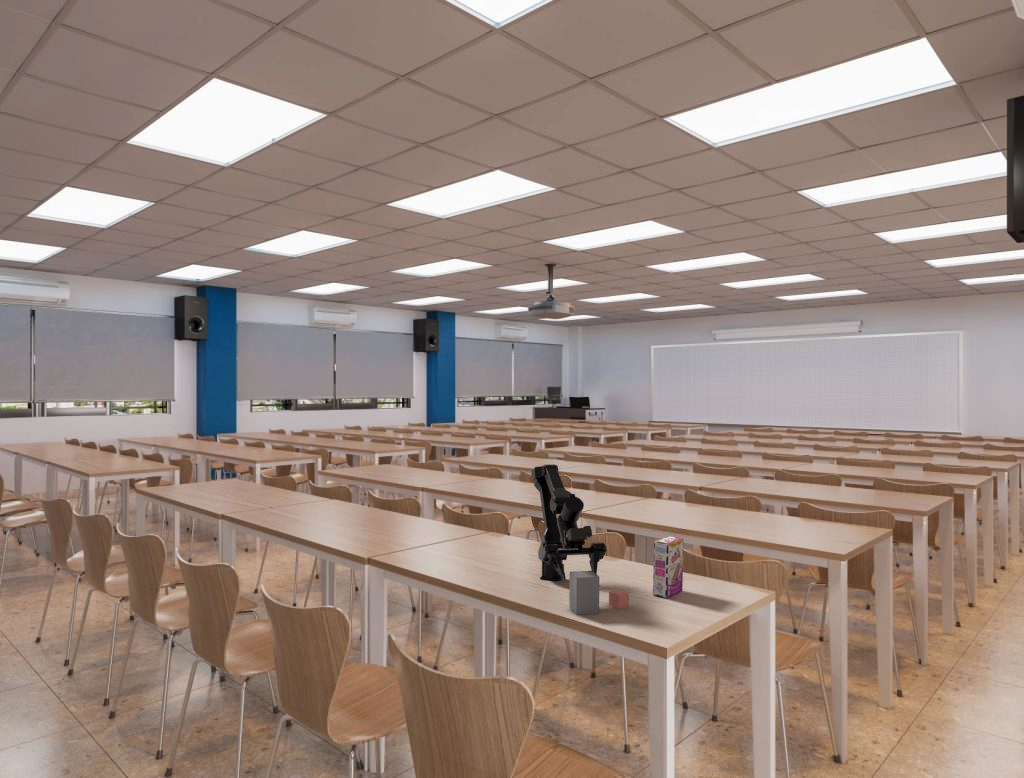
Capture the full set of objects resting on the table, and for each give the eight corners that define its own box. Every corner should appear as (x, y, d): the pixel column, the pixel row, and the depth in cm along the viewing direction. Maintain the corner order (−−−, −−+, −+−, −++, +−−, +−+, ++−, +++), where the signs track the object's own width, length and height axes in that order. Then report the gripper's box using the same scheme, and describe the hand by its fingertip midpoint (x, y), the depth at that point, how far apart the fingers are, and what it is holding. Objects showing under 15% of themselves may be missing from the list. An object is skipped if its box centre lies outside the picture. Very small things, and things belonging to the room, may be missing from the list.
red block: (608, 605, 183) (608, 591, 183) (619, 603, 185) (619, 589, 185) (618, 609, 179) (618, 594, 180) (628, 606, 182) (628, 592, 182)
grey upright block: (569, 607, 180) (569, 571, 181) (591, 605, 182) (591, 570, 182) (576, 614, 174) (576, 577, 174) (599, 613, 175) (599, 576, 176)
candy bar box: (667, 599, 189) (668, 543, 190) (652, 595, 192) (652, 541, 193) (683, 590, 198) (684, 537, 198) (668, 587, 201) (669, 535, 201)
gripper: (544, 516, 185) (554, 564, 174) (605, 515, 189) (618, 562, 178) (537, 538, 193) (546, 585, 182) (595, 535, 197) (608, 582, 186)
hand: (580, 578), depth 182 cm, fingers open, 9 cm apart
